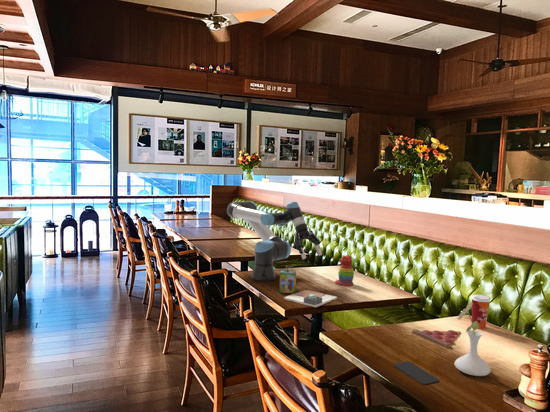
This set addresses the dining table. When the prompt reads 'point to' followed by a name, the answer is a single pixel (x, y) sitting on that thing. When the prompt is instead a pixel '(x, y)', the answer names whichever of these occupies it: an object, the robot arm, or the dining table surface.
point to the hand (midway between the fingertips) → (312, 256)
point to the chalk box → (287, 281)
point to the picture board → (304, 298)
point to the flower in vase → (472, 351)
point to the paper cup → (480, 309)
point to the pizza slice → (439, 336)
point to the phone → (416, 373)
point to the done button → (313, 296)
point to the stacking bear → (345, 272)
